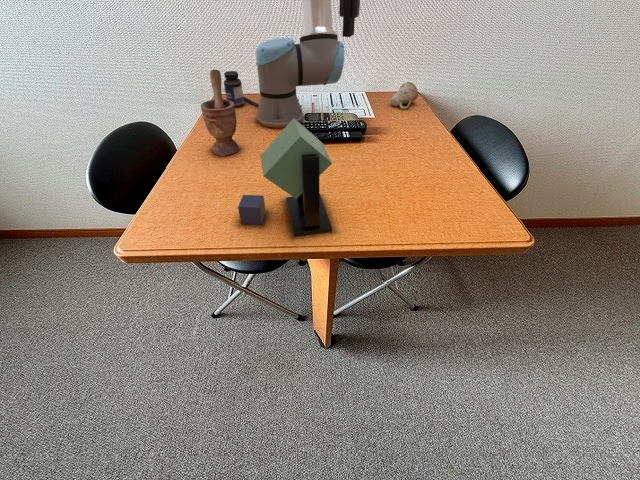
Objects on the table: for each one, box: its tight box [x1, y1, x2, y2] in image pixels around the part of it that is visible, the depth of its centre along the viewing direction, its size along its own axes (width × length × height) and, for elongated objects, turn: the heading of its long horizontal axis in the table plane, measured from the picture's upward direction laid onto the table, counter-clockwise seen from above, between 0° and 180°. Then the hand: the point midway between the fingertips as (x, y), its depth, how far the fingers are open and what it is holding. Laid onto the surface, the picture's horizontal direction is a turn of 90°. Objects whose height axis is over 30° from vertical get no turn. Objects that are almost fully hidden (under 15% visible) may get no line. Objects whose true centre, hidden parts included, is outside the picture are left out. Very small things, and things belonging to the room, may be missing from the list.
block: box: [237, 194, 267, 226], centre depth 73 cm, size 4×4×4 cm
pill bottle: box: [223, 70, 245, 108], centre depth 122 cm, size 6×6×11 cm
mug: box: [390, 81, 419, 110], centre depth 124 cm, size 8×10×10 cm
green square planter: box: [260, 118, 333, 199], centre depth 65 cm, size 8×8×10 cm
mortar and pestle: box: [200, 69, 240, 157], centre depth 93 cm, size 12×9×20 cm
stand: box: [285, 154, 333, 237], centre depth 69 cm, size 8×13×17 cm, turn 11°
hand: (348, 35), depth 72 cm, fingers closed
